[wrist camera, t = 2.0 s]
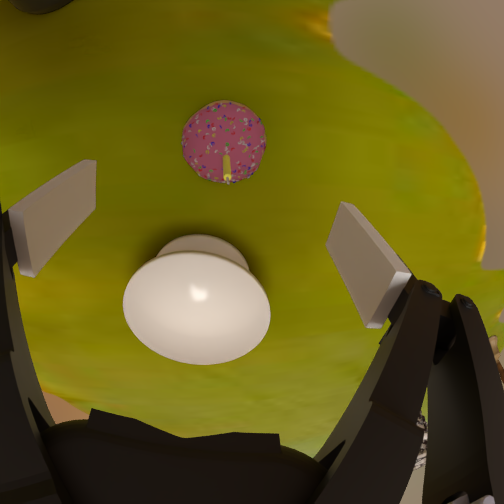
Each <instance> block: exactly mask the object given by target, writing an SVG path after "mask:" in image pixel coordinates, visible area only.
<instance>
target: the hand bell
mask: <svg viewBox="0 0 504 504" xmlns="http://www.w3.org/2000/svg"><path fill="white" fill-rule="evenodd" d="M489 341H490V344H491V347H492V350H493V353H494V357H495V360H496V363H497V367H498V371H499V373H500V377H501V380H502V382H503V383H504V369H503V367H502V365H501V364H500V362H499V360H498V359H499V357H500V352H499V350H498V347H497V336H492V337H490V338H489Z"/></svg>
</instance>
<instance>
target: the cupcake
mask: <svg viewBox="0 0 504 504" xmlns="http://www.w3.org/2000/svg"><path fill="white" fill-rule="evenodd" d="M181 144H182V145H183V156H184V158H185V160H186V161H187V162H188V164H189V165H190V166H191V167H192V168H193V169H194V170H195V172H196V173H197V174H198V175H199V176H201V177H203V178H205V179H207V180H209V181H214V182H220V183H225V182H227V184H228V185H229V182H233V183H235V182H236V181H239V180H242V179H245V178H249V177H250V175H252V174H253V173H254V172H255V171H256V170H257V169H258V167H259V164H260V161H261V158H262V156H263V154H264V151H265V148H266V134H265V129H264V126H263V124H262V122H261V120H260V118H259V117H258V116H257V115H256V114H255V113H254V112H253V111H252V110H251V109H249V108H248V107H247V106H245V105H243V104H241V103H237V102H234V101H229V100H220V101H215V102H212V103H210V104H208V105H206V106H204V107H203V108H201V109H200V110H199V111H198V112H196V113H195V114H194V115H193V116H191V117H190V118H189V120H188V121H187V122H186V124H185V126H184V128H183V133H182V142H181Z"/></svg>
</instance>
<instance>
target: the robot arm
mask: <svg viewBox="0 0 504 504" xmlns="http://www.w3.org/2000/svg"><path fill="white" fill-rule="evenodd" d="M8 1H10V2H11V3H12V4H13V5H14V6H15V7H16V8H17V9H19V10H21V11H23V12H27V13H32V14H44V13H48V12H51V11H54V10H56V9H59V8H61V7H63V6H64V5H66V4H68V3H69V2H71V1H72V0H8ZM95 209H96V160H85V159H84V160H82V161H81V162H79V163H77V164H76V165H74V166H72V167H70V168H69V169H67V170H66V171H64V172H62V173H61V174H59V175H57V176H56V177H54V178H53V179H51V180H50V181H48V182H47V183H45V184H43V185H42V186H40V187H39V188H38V189H36V190H35V191H33V192H32V193H30V194H29V195H27V196H26V197H25V198H23V199H22V200H20V201H19V202H18V203H16V204H15V205H14V206H12V207H11V208H10V209H8V210H7V211H6V212H4V213H3V214H2V211H1V203H0V504H399V503H400V501H401V499H402V496H403V494H404V491H405V489H406V487H407V484H408V482H409V479H410V477H411V474H412V471H413V469H414V466H415V463H416V460H417V457H418V454H419V451H420V448H421V445H422V442H423V438H424V430H423V428H421V427H419V426H417V425H416V424H417V420H418V417H419V414H420V410H421V407H422V403H423V400H424V396H425V392H426V388H428V433H427V453H426V466H425V476H424V485H423V496H422V504H504V390H503V386H502V382H501V378H500V374H499V371H498V367H497V363H496V360H495V357H494V353H493V350H492V347H491V344H490V341H489V338H488V335H487V332H486V329H485V327H484V324H483V321H482V319H481V316H480V313H479V311H478V308H477V307H476V305H475V304H474V303H473V301H472V300H471V299H470V298H469V297H466V296H464V295H461V294H456V295H455V297H454V298H453V300H452V302H451V303H450V302H447V301H445V300H442V294H441V293H440V291H439V290H438V289H437V288H436V287H435V286H434V285H433V284H431V283H429V282H426V281H423V280H417V279H416V277H415V276H414V275H413V273H412V272H411V271H410V270H409V268H407V266H406V265H405V263H403V261H402V260H401V258H400V257H399V256H398V255H397V254H396V253H395V252H394V251H393V250H392V248H391V247H390V246H389V245H388V244H387V242H386V241H385V240H384V239H383V238H382V236H381V235H380V234H379V233H378V232H377V231H376V229H375V228H374V227H373V226H372V225H371V224H370V223H369V221H368V220H367V219H366V218H365V217H364V216H363V215H362V214H361V212H360V211H359V210H358V209H357V208H356V207H355V206H354V205H353V204H349V203H345V202H341V203H340V206H339V209H338V212H337V215H336V217H335V220H334V223H333V226H332V229H331V232H330V234H329V237H328V240H327V243H326V245H325V246H326V248H327V249H328V251H329V253H330V255H331V257H332V259H333V261H334V263H335V265H336V267H337V269H338V271H339V273H340V275H341V277H342V279H343V281H344V283H345V285H346V287H347V289H348V291H349V293H350V295H351V297H352V300H353V302H354V304H355V306H356V308H357V310H358V312H359V314H360V316H361V319H362V321H363V323H364V325H365V327H366V328H381V327H382V326H383V324H384V322H385V321H386V319H387V317H388V318H389V320H390V322H391V325H390V327H389V328H388V330H387V331H386V333H385V334H384V336H383V338H382V339H381V341H380V342H379V344H380V347H379V349H378V351H377V353H376V355H375V357H374V359H373V361H372V363H371V365H370V367H369V369H368V371H367V373H366V375H365V377H364V378H363V380H362V382H361V384H360V386H359V388H358V389H357V391H356V393H355V395H354V397H353V398H352V400H351V402H350V404H349V405H348V407H347V409H346V410H345V412H344V414H343V415H342V417H341V419H340V420H339V422H338V424H337V425H336V427H335V428H334V430H333V432H332V433H331V435H330V436H329V438H328V439H327V441H326V442H325V444H324V445H323V447H322V448H321V449H320V451H319V452H318V453H317V454H316V456H315V457H314V458H311V457H309V456H308V455H306V454H304V453H302V452H299V451H297V450H295V449H292V448H289V447H286V446H282V445H280V438H279V434H271V433H240V432H231V433H225V434H218V435H210V436H202V437H193V438H181V437H178V436H175V435H172V434H170V433H167V432H165V431H162V430H160V429H157V428H155V427H153V426H150V425H148V424H146V423H143V422H141V421H139V420H137V419H133V418H129V417H124V416H120V415H116V414H112V413H108V412H104V411H100V410H96V409H93V408H91V412H90V415H89V419H88V420H84V419H83V420H72V421H67V422H62V423H59V424H55V422H54V420H53V418H52V416H51V414H50V412H49V410H48V407H47V404H46V402H45V399H44V396H43V393H42V391H41V388H40V385H39V382H38V379H37V376H36V372H35V369H34V366H33V363H32V359H31V356H30V352H29V348H28V344H27V340H26V336H25V332H24V328H23V323H22V318H21V313H20V308H19V303H18V297H17V290H16V284H15V276H14V272H13V268H12V267H13V265H14V264H15V263H16V262H18V266H19V270H20V274H22V275H26V276H30V277H34V278H35V276H36V275H37V274H38V273H39V271H40V270H41V269H42V268H43V266H44V265H45V264H46V263H47V261H48V260H49V259H50V258H51V257H52V256H53V254H54V253H55V252H56V251H57V250H58V249H59V247H60V246H61V245H62V244H63V243H64V242H65V241H66V239H67V238H68V237H69V236H70V235H71V234H72V233H73V232H74V231H75V230H76V228H77V227H78V226H79V225H80V224H81V223H82V222H83V221H84V220H85V219H86V218H87V217H88V216H89V215H90V214H91V213H92V212H93V211H94V210H95Z"/></svg>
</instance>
